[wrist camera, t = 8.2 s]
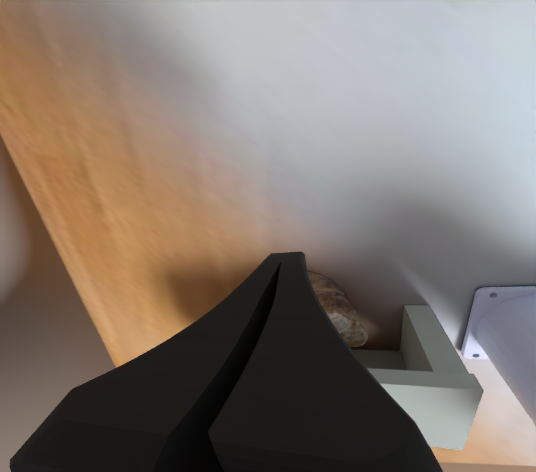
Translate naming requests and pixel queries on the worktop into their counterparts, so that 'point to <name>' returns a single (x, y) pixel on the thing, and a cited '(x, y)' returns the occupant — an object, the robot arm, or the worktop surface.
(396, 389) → the shelf
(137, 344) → the worktop surface
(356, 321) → the oyster shell
